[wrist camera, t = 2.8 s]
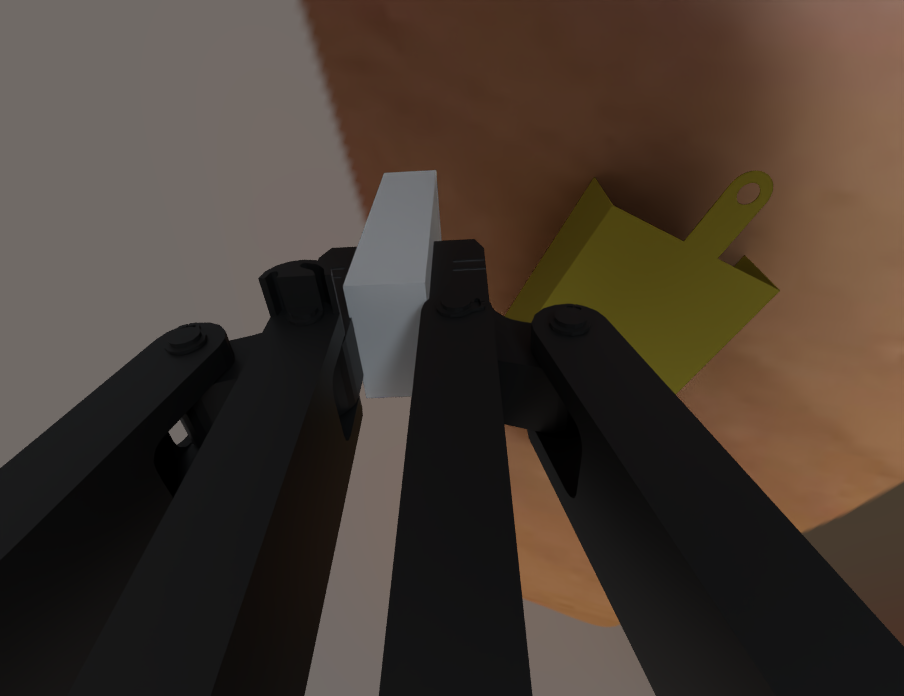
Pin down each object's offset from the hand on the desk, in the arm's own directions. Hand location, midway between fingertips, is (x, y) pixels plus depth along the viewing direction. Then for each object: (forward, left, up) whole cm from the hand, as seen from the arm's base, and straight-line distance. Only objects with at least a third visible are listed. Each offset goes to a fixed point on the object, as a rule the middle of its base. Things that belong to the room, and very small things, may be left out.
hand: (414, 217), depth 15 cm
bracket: (+2, +15, -9) cm, 17 cm away
